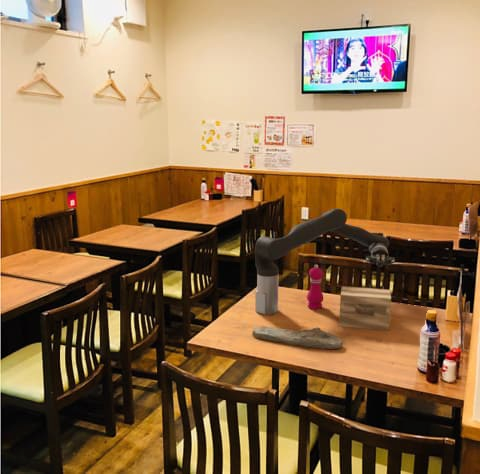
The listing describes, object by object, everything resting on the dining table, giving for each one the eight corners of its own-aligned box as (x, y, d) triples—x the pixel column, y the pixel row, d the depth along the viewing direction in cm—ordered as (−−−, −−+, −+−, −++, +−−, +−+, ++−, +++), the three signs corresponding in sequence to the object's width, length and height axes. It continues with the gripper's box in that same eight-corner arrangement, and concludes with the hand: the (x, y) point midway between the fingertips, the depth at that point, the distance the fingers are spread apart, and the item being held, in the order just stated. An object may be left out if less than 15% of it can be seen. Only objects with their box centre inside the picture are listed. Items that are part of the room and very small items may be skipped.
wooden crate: (340, 315, 218) (341, 286, 215) (387, 320, 214) (389, 289, 211) (339, 326, 208) (340, 294, 205) (388, 330, 203) (391, 298, 200)
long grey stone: (257, 332, 206) (249, 344, 197) (256, 320, 204) (248, 331, 195) (344, 341, 193) (340, 353, 185) (344, 328, 192) (340, 340, 183)
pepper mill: (304, 308, 227) (305, 265, 222) (310, 303, 233) (311, 261, 228) (319, 311, 224) (321, 267, 219) (325, 305, 230) (326, 263, 225)
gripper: (365, 245, 240) (365, 255, 223) (395, 247, 237) (397, 257, 220) (364, 261, 241) (364, 272, 225) (393, 263, 238) (396, 274, 222)
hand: (380, 264), depth 223 cm, fingers closed
